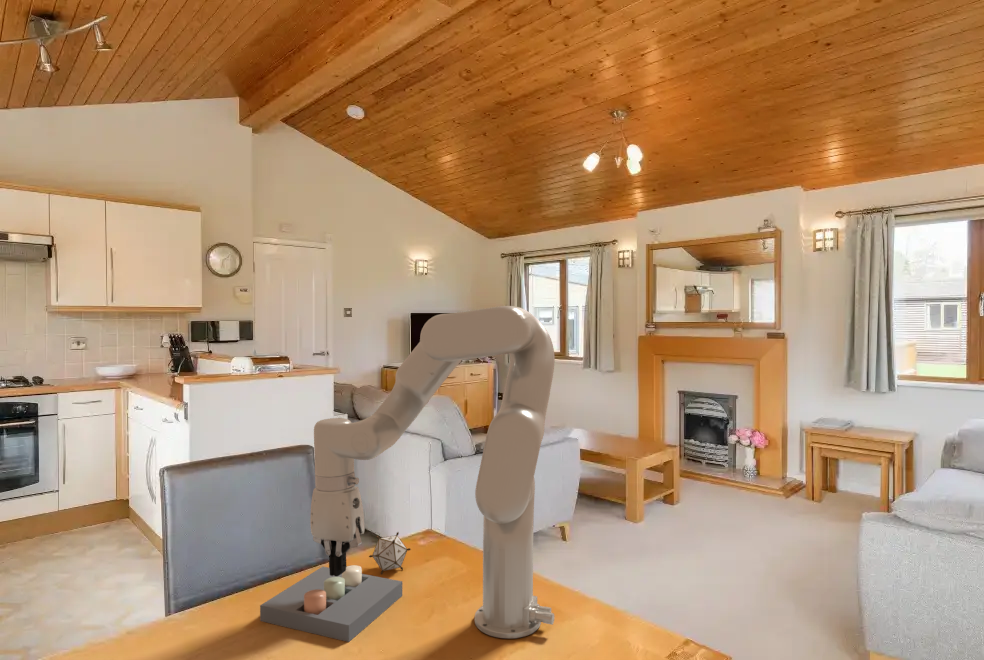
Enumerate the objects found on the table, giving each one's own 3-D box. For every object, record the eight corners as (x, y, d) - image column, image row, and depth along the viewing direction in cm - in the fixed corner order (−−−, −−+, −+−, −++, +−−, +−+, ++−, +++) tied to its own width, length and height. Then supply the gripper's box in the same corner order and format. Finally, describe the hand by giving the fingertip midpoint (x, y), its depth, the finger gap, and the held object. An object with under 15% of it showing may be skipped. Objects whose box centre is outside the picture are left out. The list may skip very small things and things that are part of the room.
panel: (402, 595, 124) (402, 581, 124) (348, 641, 107) (348, 625, 107) (322, 579, 132) (322, 566, 131) (260, 620, 114) (260, 605, 114)
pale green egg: (348, 603, 120) (348, 578, 120) (336, 612, 116) (336, 587, 116) (332, 599, 122) (332, 575, 122) (319, 608, 118) (319, 583, 118)
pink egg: (330, 617, 115) (330, 591, 114) (317, 627, 111) (317, 600, 111) (313, 613, 116) (313, 588, 116) (299, 623, 112) (299, 597, 112)
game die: (395, 588, 136) (405, 563, 130) (361, 574, 136) (369, 549, 130) (408, 556, 143) (418, 531, 138) (375, 543, 143) (383, 517, 138)
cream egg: (365, 590, 126) (365, 567, 126) (354, 598, 122) (354, 574, 122) (349, 587, 127) (349, 564, 127) (338, 595, 124) (338, 571, 123)
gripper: (377, 479, 119) (380, 570, 120) (316, 474, 125) (318, 561, 125) (356, 489, 112) (359, 586, 113) (291, 483, 118) (294, 576, 118)
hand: (338, 573), depth 119 cm, fingers closed
